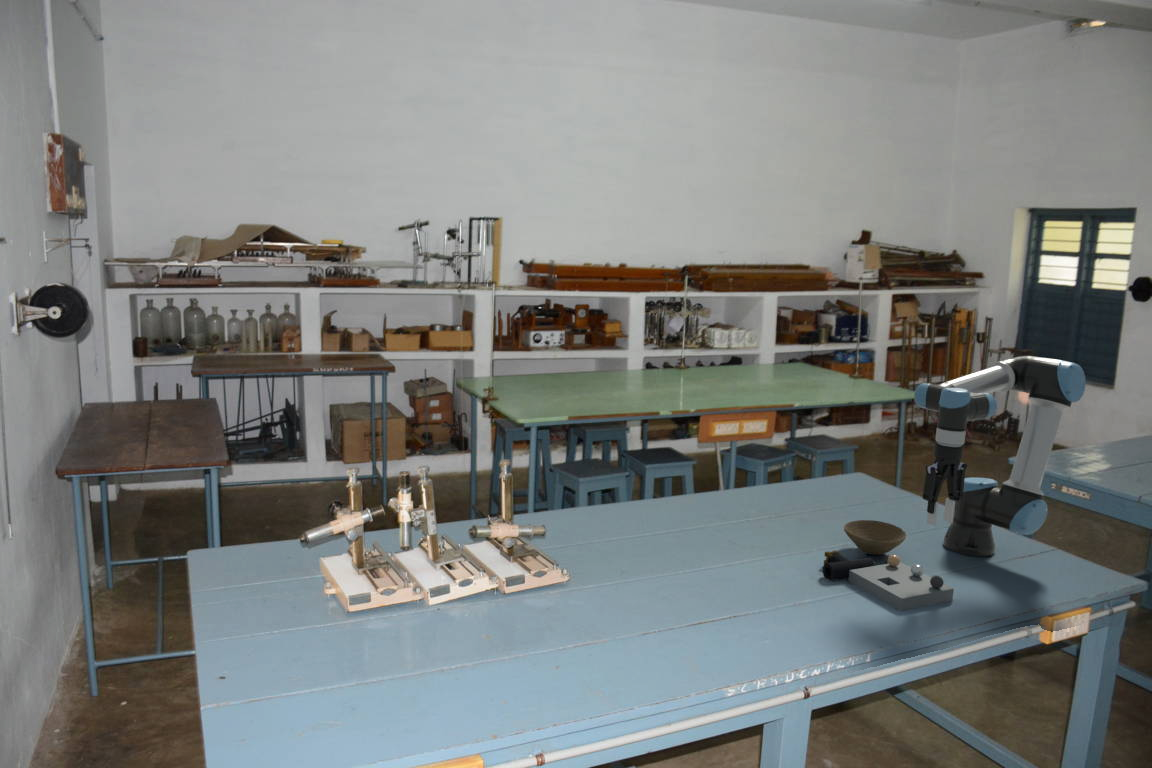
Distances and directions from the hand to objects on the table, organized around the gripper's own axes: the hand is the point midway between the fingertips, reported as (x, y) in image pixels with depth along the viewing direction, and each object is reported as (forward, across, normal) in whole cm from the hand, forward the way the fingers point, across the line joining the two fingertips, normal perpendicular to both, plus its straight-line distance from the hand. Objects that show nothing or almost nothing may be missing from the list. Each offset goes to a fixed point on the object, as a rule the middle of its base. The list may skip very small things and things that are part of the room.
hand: (939, 522), depth 243 cm
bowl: (+19, -1, -25) cm, 31 cm away
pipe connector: (+19, +19, -16) cm, 32 cm away
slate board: (+19, +12, 0) cm, 23 cm away
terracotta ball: (+15, +8, -8) cm, 19 cm away
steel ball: (+15, +6, 0) cm, 17 cm away
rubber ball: (+15, +8, +8) cm, 19 cm away
